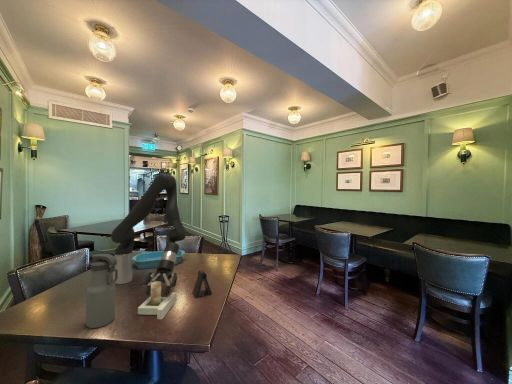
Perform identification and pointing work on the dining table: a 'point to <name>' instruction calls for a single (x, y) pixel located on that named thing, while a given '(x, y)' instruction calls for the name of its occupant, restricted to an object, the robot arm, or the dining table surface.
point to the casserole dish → (152, 259)
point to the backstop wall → (166, 305)
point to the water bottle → (101, 291)
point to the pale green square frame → (150, 307)
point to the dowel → (155, 293)
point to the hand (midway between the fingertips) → (156, 295)
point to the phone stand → (197, 287)
